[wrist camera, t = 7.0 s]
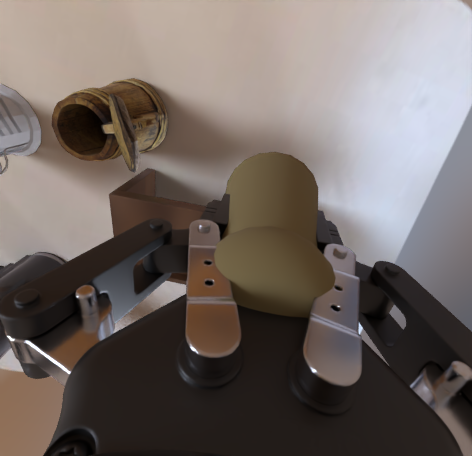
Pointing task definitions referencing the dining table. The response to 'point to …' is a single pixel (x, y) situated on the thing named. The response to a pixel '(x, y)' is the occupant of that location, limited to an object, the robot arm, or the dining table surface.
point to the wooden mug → (111, 122)
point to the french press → (17, 126)
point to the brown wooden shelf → (149, 210)
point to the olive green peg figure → (273, 237)
